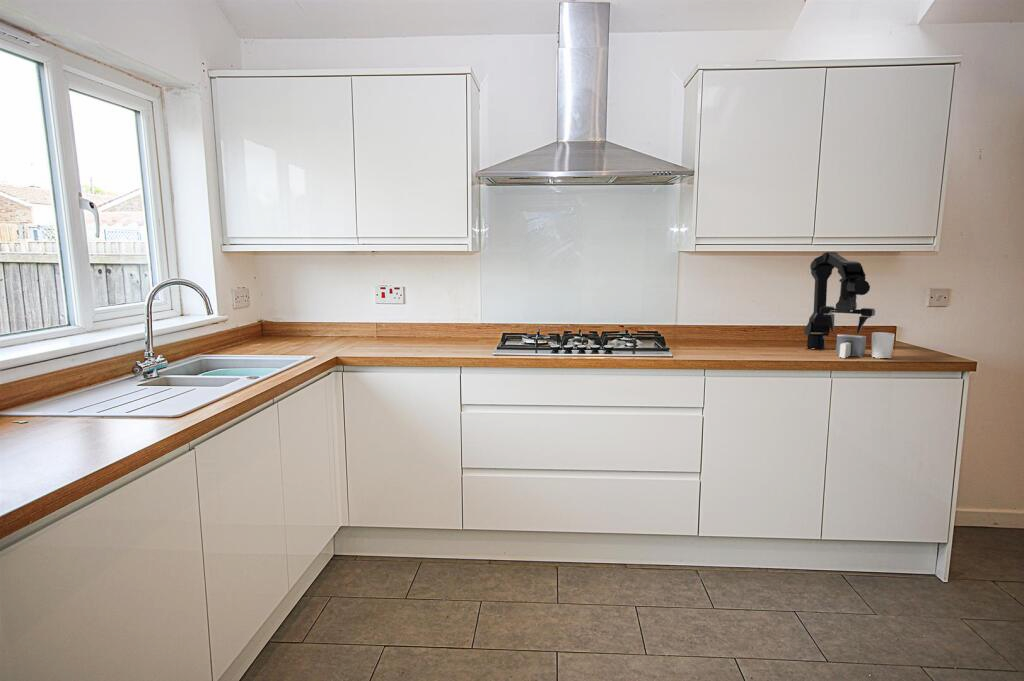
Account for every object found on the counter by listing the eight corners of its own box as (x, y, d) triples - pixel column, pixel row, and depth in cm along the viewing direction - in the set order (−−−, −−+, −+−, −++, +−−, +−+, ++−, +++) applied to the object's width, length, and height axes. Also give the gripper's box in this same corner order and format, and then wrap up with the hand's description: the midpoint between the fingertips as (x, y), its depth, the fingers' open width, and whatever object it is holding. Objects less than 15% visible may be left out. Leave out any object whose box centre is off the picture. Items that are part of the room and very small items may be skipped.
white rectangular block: (848, 353, 246) (849, 340, 245) (854, 354, 244) (855, 341, 244) (839, 357, 235) (840, 344, 234) (844, 358, 233) (845, 344, 233)
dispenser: (840, 352, 249) (842, 332, 248) (864, 355, 243) (866, 334, 242) (835, 354, 244) (837, 334, 243) (860, 357, 238) (861, 336, 236)
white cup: (869, 358, 236) (871, 333, 234) (870, 355, 242) (872, 331, 241) (892, 359, 231) (894, 335, 230) (892, 357, 238) (894, 333, 237)
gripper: (817, 293, 233) (814, 332, 235) (870, 295, 220) (866, 336, 222) (824, 292, 241) (822, 329, 243) (877, 294, 228) (873, 333, 230)
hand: (845, 332), depth 234 cm, fingers open, 9 cm apart
